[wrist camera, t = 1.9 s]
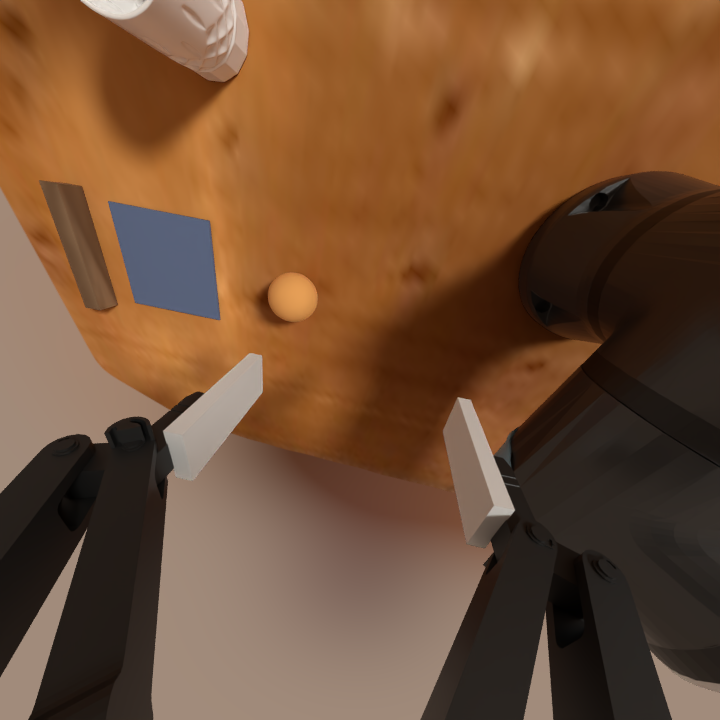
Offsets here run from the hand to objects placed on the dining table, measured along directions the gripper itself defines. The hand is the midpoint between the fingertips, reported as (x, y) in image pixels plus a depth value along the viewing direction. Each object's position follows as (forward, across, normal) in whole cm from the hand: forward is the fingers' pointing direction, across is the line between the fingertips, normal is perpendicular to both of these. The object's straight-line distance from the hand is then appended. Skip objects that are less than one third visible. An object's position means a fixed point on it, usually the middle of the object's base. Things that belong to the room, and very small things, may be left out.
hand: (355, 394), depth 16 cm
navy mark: (+18, +26, 0) cm, 32 cm away
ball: (+15, +10, 0) cm, 18 cm away
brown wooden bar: (+18, +36, 0) cm, 41 cm away
